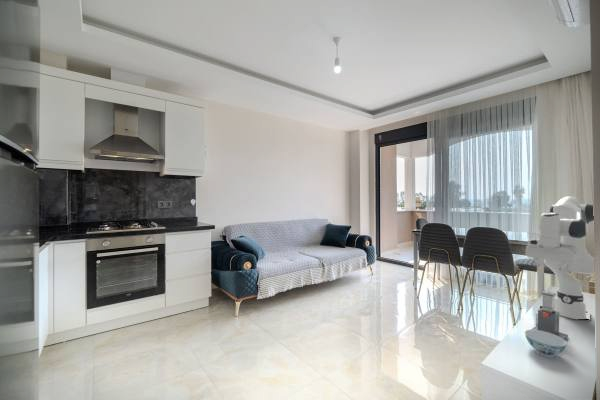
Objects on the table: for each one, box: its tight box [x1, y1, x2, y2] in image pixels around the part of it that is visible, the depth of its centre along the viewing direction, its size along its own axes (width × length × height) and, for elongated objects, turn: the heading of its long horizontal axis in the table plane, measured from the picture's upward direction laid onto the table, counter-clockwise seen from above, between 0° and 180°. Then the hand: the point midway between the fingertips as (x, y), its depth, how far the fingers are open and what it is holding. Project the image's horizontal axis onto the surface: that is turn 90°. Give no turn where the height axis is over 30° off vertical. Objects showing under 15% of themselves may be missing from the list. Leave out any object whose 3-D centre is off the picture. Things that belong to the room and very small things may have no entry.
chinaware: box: [524, 329, 568, 358], centre depth 131 cm, size 15×15×8 cm
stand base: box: [530, 308, 569, 341], centre depth 147 cm, size 13×13×14 cm
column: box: [541, 290, 557, 314], centre depth 147 cm, size 5×5×22 cm
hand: (549, 267), depth 147 cm, fingers open, 8 cm apart
